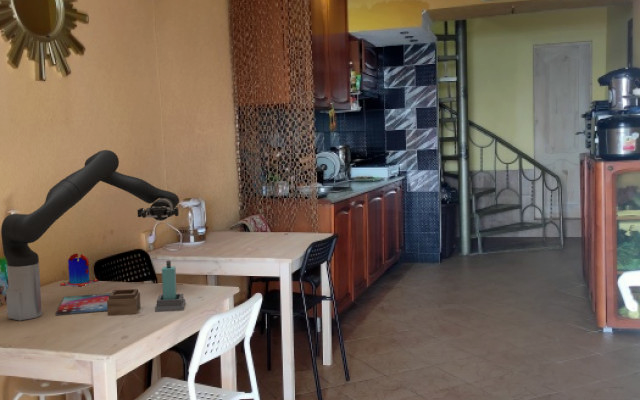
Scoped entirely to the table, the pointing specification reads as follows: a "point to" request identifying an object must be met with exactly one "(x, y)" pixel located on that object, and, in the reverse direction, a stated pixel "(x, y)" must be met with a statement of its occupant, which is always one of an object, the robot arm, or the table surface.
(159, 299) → the lower dock
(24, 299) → the robot arm
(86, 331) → the table surface
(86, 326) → the table surface
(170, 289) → the plug block
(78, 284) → the fantasy tower
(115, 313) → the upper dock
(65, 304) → the tablet
